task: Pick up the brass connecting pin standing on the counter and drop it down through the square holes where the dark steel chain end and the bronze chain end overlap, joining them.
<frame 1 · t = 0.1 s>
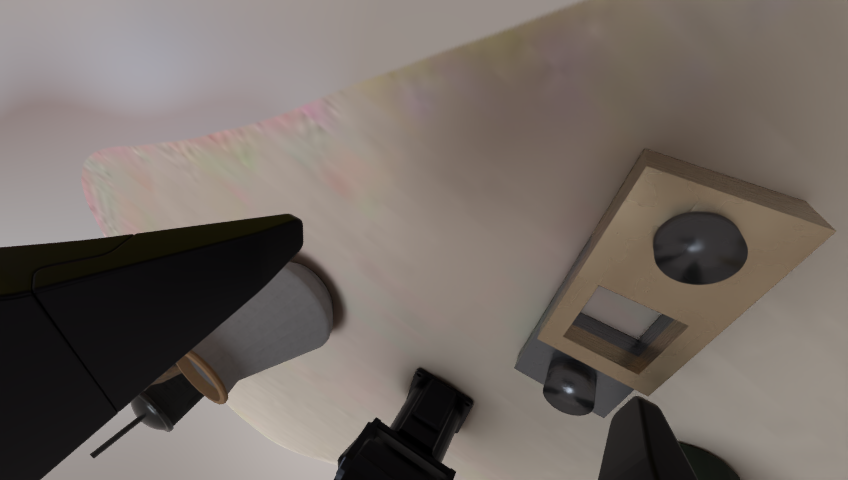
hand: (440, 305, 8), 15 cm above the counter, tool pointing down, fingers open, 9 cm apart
potion bottle: (683, 467, 26), on the counter
chain ends: (620, 300, 22), on the counter
drinking cup: (240, 340, 56), on the counter
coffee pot: (285, 295, 42), on the counter
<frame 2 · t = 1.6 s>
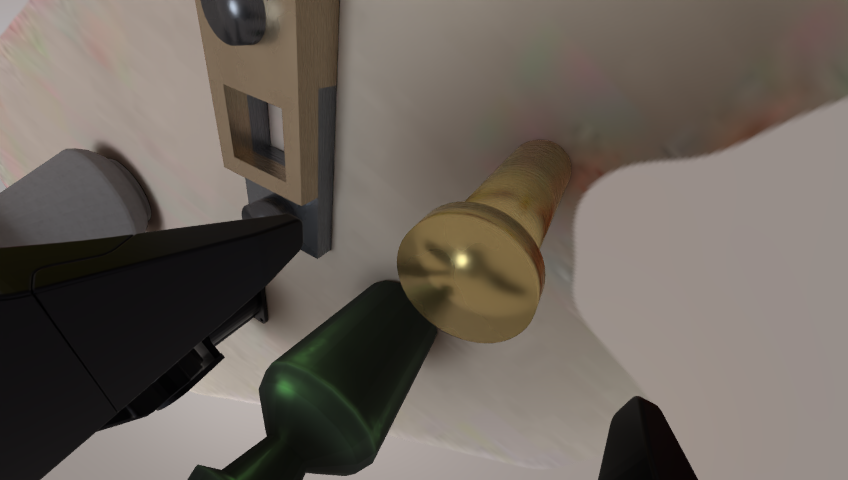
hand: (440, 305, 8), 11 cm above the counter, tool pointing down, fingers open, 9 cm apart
pin: (538, 170, 17), on the counter
potion bottle: (403, 311, 27), on the counter
chain ends: (293, 125, 23), on the counter
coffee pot: (121, 202, 43), on the counter
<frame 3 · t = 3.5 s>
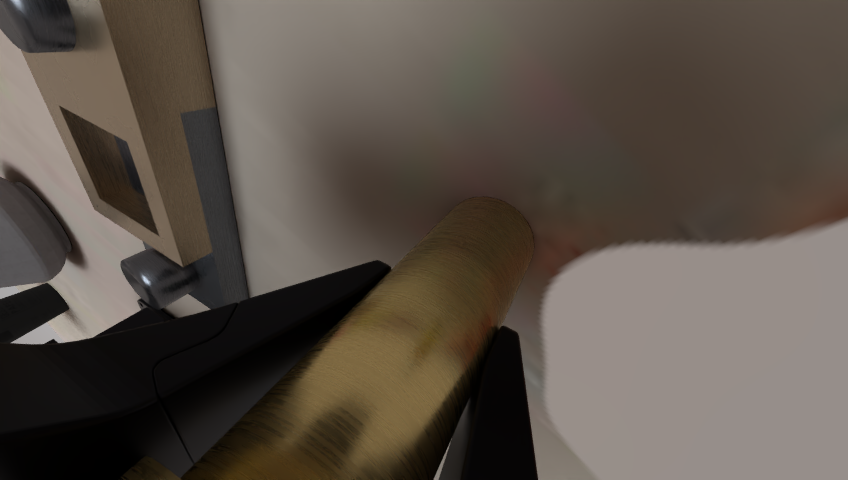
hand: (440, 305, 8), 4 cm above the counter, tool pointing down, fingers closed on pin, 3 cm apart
pin: (487, 240, 11), on the counter, touching gripper
chain ends: (179, 155, 17), on the counter
drinking cup: (58, 295, 51), on the counter
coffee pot: (43, 229, 38), on the counter
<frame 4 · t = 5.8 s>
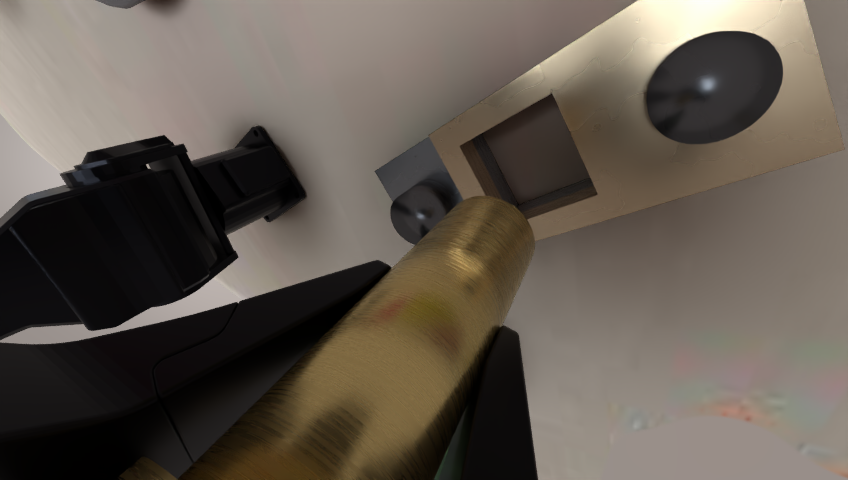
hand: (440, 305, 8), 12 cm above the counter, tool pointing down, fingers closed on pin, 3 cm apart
pin: (487, 239, 11), point 9 cm above the counter, touching gripper
chain ends: (538, 151, 18), on the counter
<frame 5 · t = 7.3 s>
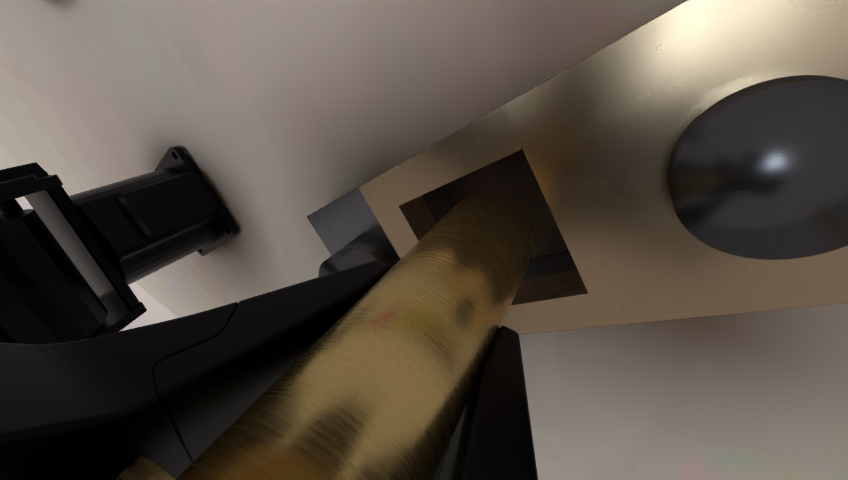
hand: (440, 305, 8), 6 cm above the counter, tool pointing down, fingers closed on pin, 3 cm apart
pin: (487, 238, 11), point 3 cm above the counter, touching gripper
chain ends: (511, 208, 13), on the counter
when the fingers open (4 cm above the counter, at t = 8.4 s): pin stays where it is, resting in chain ends.
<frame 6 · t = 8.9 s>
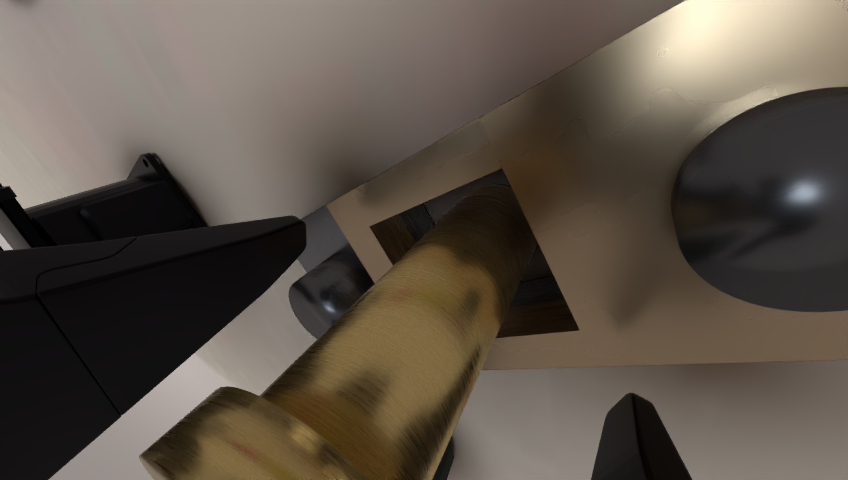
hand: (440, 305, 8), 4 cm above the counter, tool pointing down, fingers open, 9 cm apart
pin: (496, 225, 12), resting in chain ends
potion bottle: (409, 422, 21), on the counter
chain ends: (496, 227, 12), on the counter
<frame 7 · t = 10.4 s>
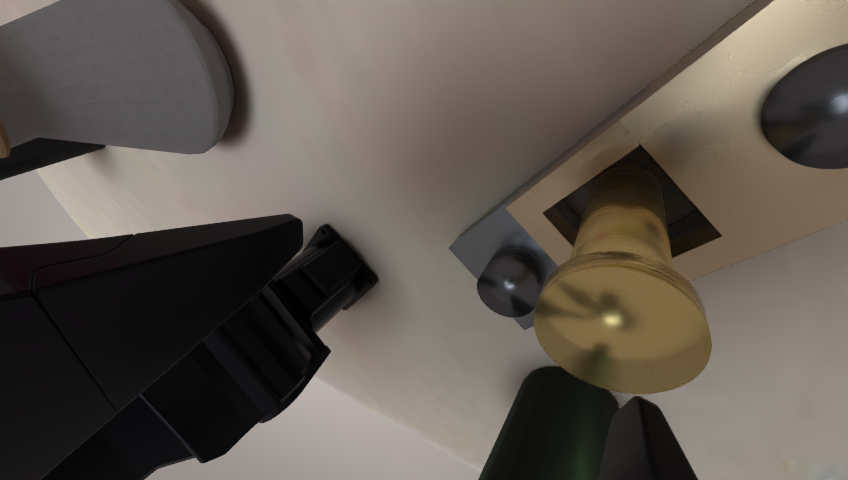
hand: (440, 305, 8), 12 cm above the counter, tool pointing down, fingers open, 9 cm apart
pin: (624, 195, 16), resting in chain ends
potion bottle: (569, 397, 25), on the counter
chain ends: (625, 196, 16), on the counter
drinking cup: (93, 127, 41), on the counter
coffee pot: (167, 72, 29), on the counter
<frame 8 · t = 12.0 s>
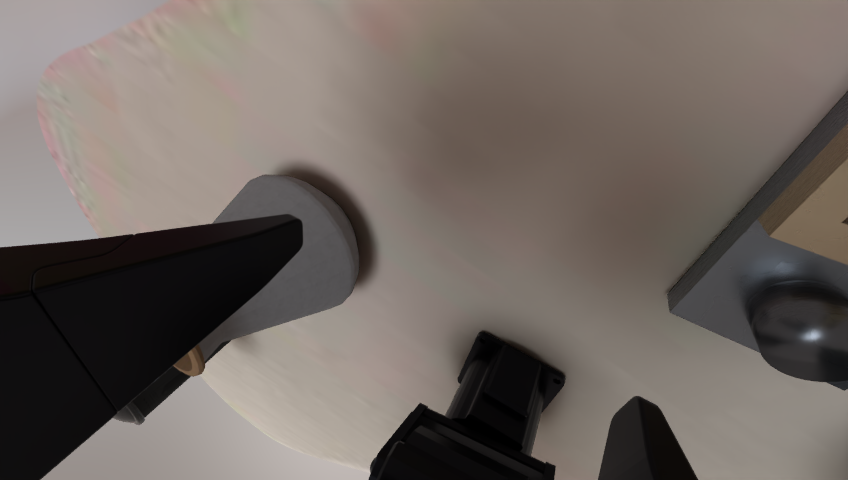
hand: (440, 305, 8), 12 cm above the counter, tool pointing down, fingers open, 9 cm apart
drinking cup: (233, 313, 45), on the counter
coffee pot: (290, 242, 32), on the counter
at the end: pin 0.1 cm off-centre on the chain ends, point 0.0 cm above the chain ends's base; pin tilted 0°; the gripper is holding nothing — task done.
